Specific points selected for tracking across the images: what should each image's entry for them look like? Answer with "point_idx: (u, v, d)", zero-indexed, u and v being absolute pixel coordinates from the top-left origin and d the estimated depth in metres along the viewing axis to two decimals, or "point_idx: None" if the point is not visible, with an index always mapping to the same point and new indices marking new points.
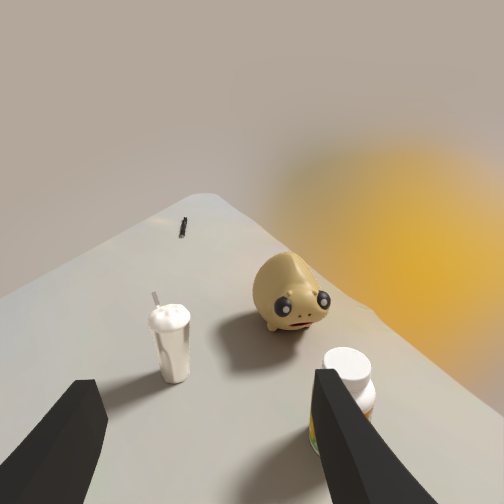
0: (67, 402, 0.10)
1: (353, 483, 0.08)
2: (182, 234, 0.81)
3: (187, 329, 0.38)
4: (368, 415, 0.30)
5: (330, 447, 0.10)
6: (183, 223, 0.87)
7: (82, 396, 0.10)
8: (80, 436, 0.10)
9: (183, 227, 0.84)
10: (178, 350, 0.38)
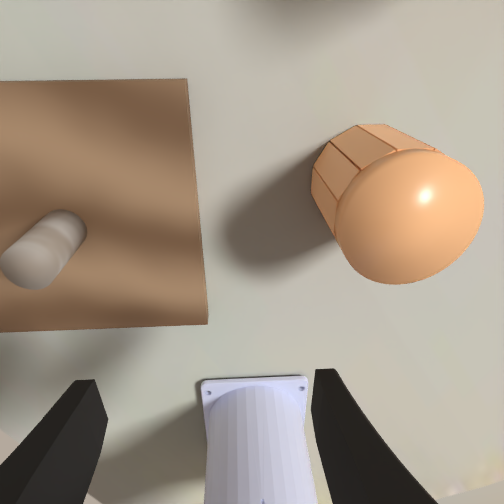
0: (67, 402, 0.10)
1: (353, 483, 0.08)
2: None
3: None
4: None
5: (330, 447, 0.10)
6: None
7: (82, 396, 0.10)
8: (80, 436, 0.10)
9: None
10: None
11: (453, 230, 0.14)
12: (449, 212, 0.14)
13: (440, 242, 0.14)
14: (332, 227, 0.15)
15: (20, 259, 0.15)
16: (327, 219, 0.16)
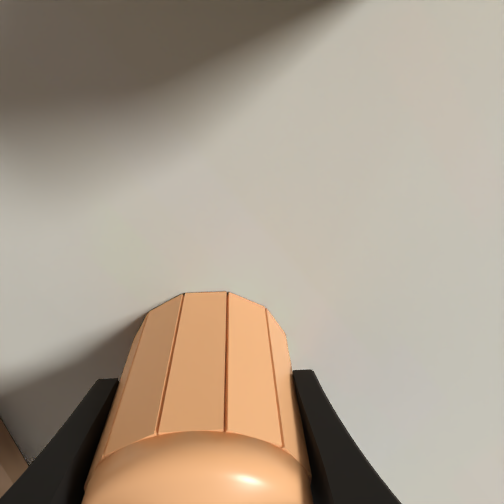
0: (93, 401, 0.10)
1: (322, 485, 0.08)
2: None
3: None
4: None
5: None
6: None
7: (107, 395, 0.10)
8: None
9: None
10: None
11: None
12: None
13: None
14: None
15: None
16: None
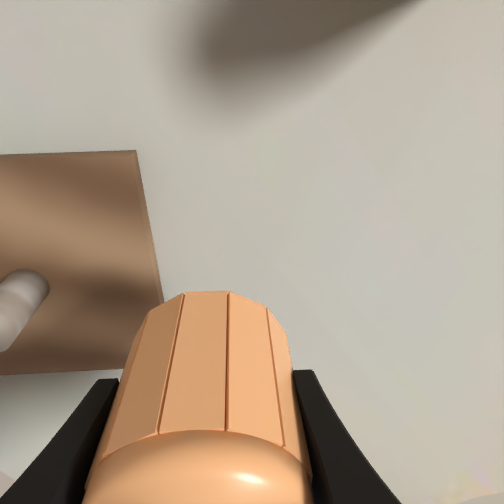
0: (93, 401, 0.10)
1: (322, 485, 0.08)
2: None
3: None
4: None
5: None
6: None
7: (107, 395, 0.10)
8: None
9: None
10: None
11: None
12: None
13: None
14: None
15: None
16: None
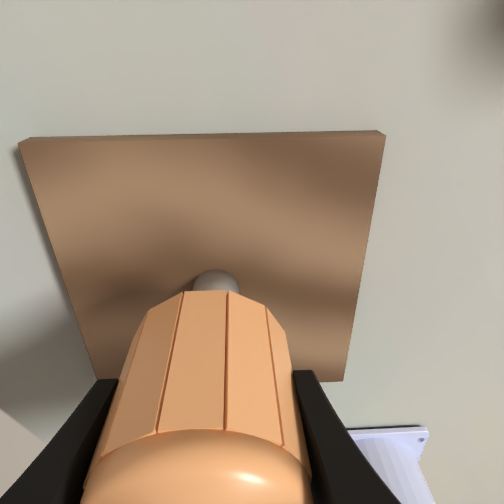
0: (93, 401, 0.10)
1: (322, 485, 0.08)
2: None
3: None
4: None
5: None
6: None
7: (107, 395, 0.10)
8: None
9: None
10: None
11: None
12: None
13: None
14: None
15: None
16: None
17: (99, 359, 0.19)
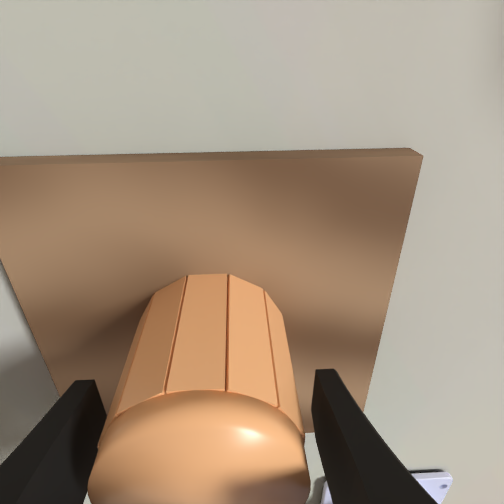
0: (67, 402, 0.10)
1: (353, 483, 0.08)
2: None
3: None
4: None
5: (330, 447, 0.10)
6: None
7: (82, 396, 0.10)
8: (80, 436, 0.10)
9: None
10: None
11: (270, 496, 0.09)
12: (255, 481, 0.09)
13: None
14: None
15: None
16: None
17: None
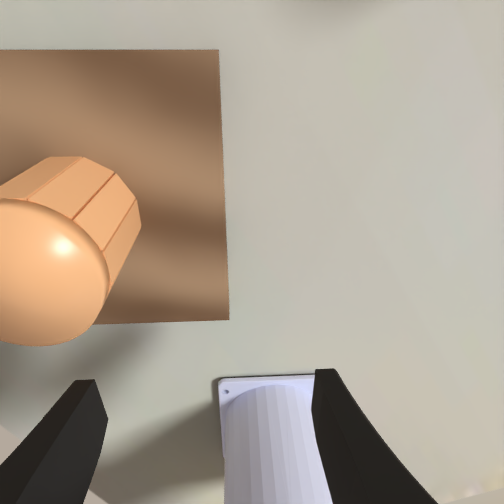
0: (67, 402, 0.10)
1: (353, 483, 0.08)
2: None
3: None
4: None
5: (329, 447, 0.10)
6: None
7: (82, 396, 0.10)
8: (80, 436, 0.10)
9: None
10: None
11: (70, 290, 0.12)
12: (53, 271, 0.12)
13: (63, 303, 0.12)
14: None
15: None
16: None
17: None
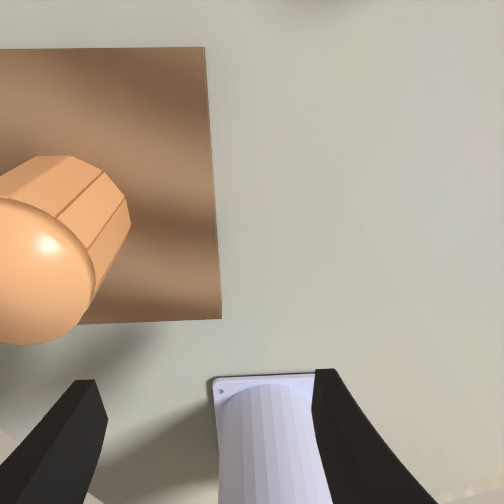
0: (67, 402, 0.10)
1: (353, 483, 0.08)
2: None
3: None
4: None
5: (330, 447, 0.10)
6: None
7: (82, 396, 0.10)
8: (80, 436, 0.10)
9: None
10: None
11: (55, 288, 0.12)
12: (36, 269, 0.12)
13: (48, 301, 0.12)
14: None
15: None
16: None
17: None
